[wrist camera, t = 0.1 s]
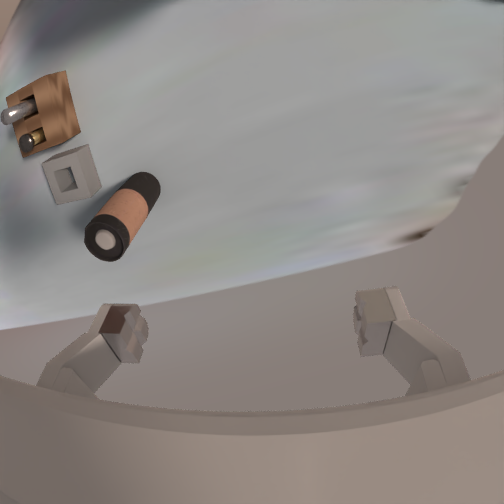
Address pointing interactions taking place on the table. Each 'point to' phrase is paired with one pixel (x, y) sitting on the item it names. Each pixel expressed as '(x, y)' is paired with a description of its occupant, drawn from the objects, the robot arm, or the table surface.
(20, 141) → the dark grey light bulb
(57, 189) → the grey square ring block
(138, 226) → the travel mug
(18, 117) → the grey tapered rounded rod
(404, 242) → the table surface
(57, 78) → the socket block
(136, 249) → the table surface
